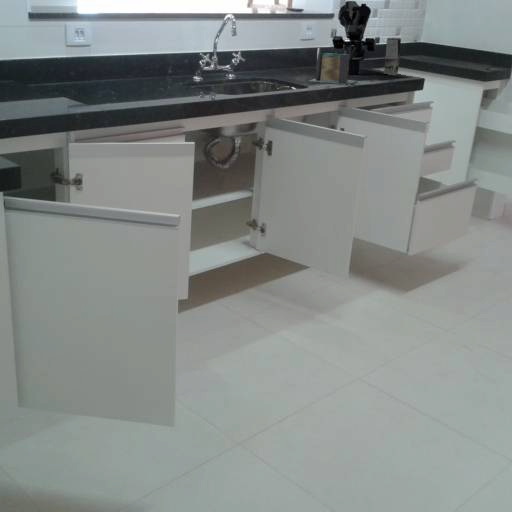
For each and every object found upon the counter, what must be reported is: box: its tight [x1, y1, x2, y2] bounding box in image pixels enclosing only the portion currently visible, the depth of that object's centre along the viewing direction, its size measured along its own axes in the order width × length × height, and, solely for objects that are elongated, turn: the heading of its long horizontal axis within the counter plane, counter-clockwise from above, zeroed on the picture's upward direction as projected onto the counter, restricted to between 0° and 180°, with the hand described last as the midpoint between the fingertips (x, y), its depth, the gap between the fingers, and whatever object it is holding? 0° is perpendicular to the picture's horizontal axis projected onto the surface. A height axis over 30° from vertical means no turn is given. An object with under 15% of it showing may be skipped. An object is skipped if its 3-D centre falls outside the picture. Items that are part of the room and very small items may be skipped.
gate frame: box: [315, 47, 349, 84], centre depth 302 cm, size 14×2×14 cm, turn 59°
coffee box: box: [383, 37, 402, 76], centre depth 334 cm, size 9×6×16 cm
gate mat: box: [308, 77, 357, 85], centre depth 307 cm, size 18×11×1 cm, turn 67°
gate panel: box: [321, 52, 349, 81], centre depth 302 cm, size 12×1×11 cm, turn 67°
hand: (349, 58), depth 311 cm, fingers closed
